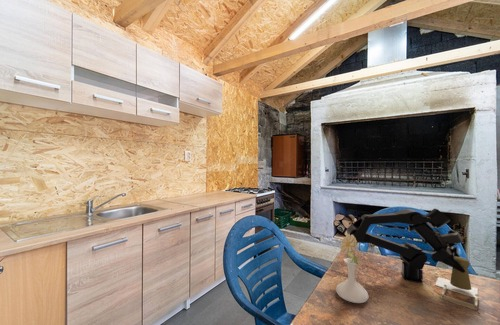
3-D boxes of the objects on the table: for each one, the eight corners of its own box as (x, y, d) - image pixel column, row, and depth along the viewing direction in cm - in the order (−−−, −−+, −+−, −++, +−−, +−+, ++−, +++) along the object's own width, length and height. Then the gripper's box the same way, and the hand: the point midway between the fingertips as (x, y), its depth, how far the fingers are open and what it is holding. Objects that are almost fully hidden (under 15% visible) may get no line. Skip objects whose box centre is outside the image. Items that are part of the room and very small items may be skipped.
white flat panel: (477, 298, 79) (477, 298, 79) (435, 285, 88) (435, 284, 88) (477, 289, 85) (477, 288, 85) (438, 277, 94) (438, 276, 94)
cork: (473, 291, 80) (473, 262, 80) (452, 286, 83) (451, 258, 83) (468, 284, 85) (468, 256, 85) (448, 279, 88) (448, 253, 88)
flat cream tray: (477, 310, 73) (477, 305, 73) (441, 298, 80) (441, 294, 80) (477, 299, 79) (477, 294, 79) (444, 288, 86) (444, 284, 86)
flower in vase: (334, 286, 89) (333, 226, 89) (364, 290, 85) (363, 228, 86) (338, 306, 76) (337, 237, 76) (374, 312, 73) (372, 239, 73)
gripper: (441, 229, 81) (485, 268, 73) (449, 220, 93) (488, 253, 84) (416, 243, 87) (454, 281, 79) (427, 233, 99) (461, 265, 90)
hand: (465, 269), depth 83 cm, fingers closed on cork, 5 cm apart
